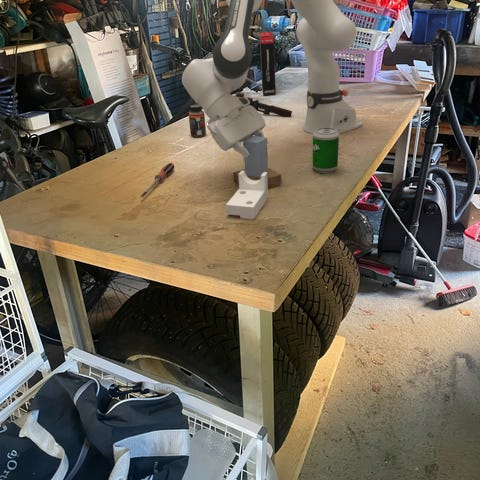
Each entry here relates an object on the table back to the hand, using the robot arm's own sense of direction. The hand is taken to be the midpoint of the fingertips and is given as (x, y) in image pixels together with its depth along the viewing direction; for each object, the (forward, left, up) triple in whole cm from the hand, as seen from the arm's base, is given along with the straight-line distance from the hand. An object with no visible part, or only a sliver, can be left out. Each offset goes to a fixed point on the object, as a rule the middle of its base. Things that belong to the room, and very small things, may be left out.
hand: (257, 150), depth 132 cm
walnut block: (0, -1, -10) cm, 10 cm away
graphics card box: (-65, -100, -10) cm, 119 cm away
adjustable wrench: (-40, -64, -10) cm, 76 cm away
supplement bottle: (-6, -55, -10) cm, 56 cm away
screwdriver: (+24, -18, -10) cm, 32 cm away
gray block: (0, -1, -7) cm, 7 cm away
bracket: (+10, +12, -10) cm, 19 cm away
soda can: (-22, +2, -10) cm, 24 cm away
